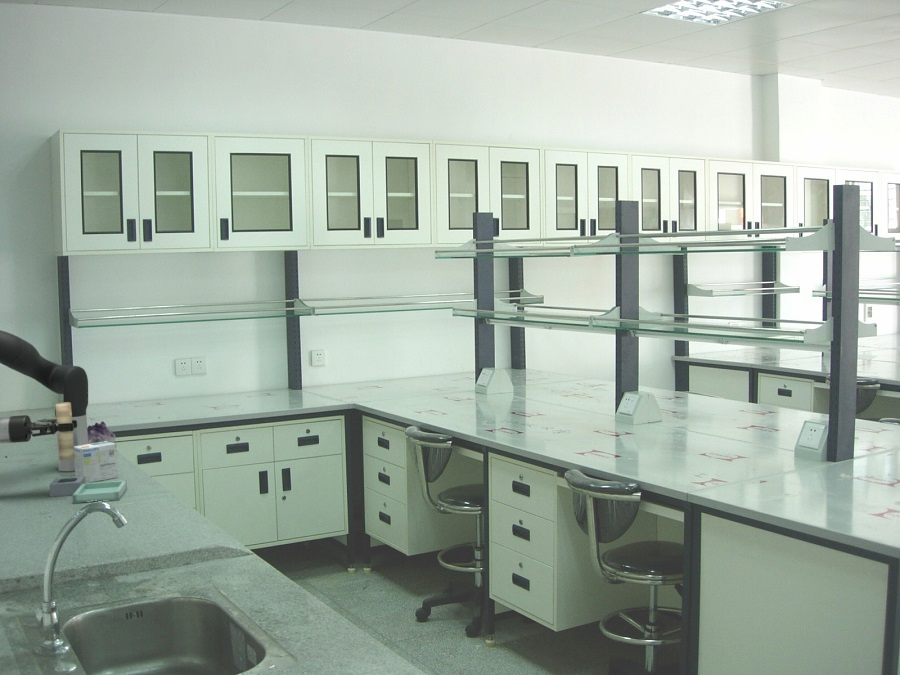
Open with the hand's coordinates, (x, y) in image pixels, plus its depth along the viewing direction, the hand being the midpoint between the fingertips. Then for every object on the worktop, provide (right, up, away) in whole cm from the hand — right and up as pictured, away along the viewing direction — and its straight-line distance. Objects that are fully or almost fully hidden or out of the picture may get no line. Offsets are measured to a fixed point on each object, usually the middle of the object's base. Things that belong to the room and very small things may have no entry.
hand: (74, 425), depth 258 cm
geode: (-19, -15, +64) cm, 69 cm away
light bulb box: (0, -18, +17) cm, 25 cm away
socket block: (-2, -19, +1) cm, 19 cm away
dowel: (-2, -10, 0) cm, 10 cm away
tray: (+9, -19, -4) cm, 22 cm away
